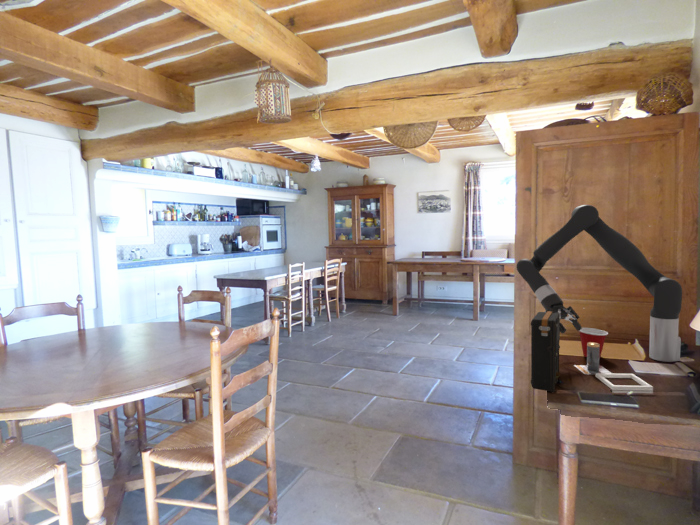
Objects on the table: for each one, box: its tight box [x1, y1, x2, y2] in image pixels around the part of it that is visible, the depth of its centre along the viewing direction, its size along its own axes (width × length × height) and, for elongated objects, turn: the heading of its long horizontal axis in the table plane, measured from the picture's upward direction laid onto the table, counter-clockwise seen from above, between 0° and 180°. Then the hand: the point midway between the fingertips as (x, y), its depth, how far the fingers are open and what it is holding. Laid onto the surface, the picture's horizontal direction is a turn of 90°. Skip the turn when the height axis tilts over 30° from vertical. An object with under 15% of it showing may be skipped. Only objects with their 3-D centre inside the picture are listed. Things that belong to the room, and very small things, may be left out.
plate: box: [573, 364, 612, 375], centre depth 158 cm, size 10×10×1 cm
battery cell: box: [586, 342, 600, 372], centre depth 157 cm, size 4×4×10 cm
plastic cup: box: [578, 327, 609, 359], centre depth 173 cm, size 11×11×12 cm
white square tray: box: [595, 372, 654, 394], centre depth 144 cm, size 12×12×2 cm
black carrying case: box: [530, 311, 561, 393], centre depth 147 cm, size 16×9×25 cm, turn 148°
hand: (572, 330), depth 165 cm, fingers open, 8 cm apart
